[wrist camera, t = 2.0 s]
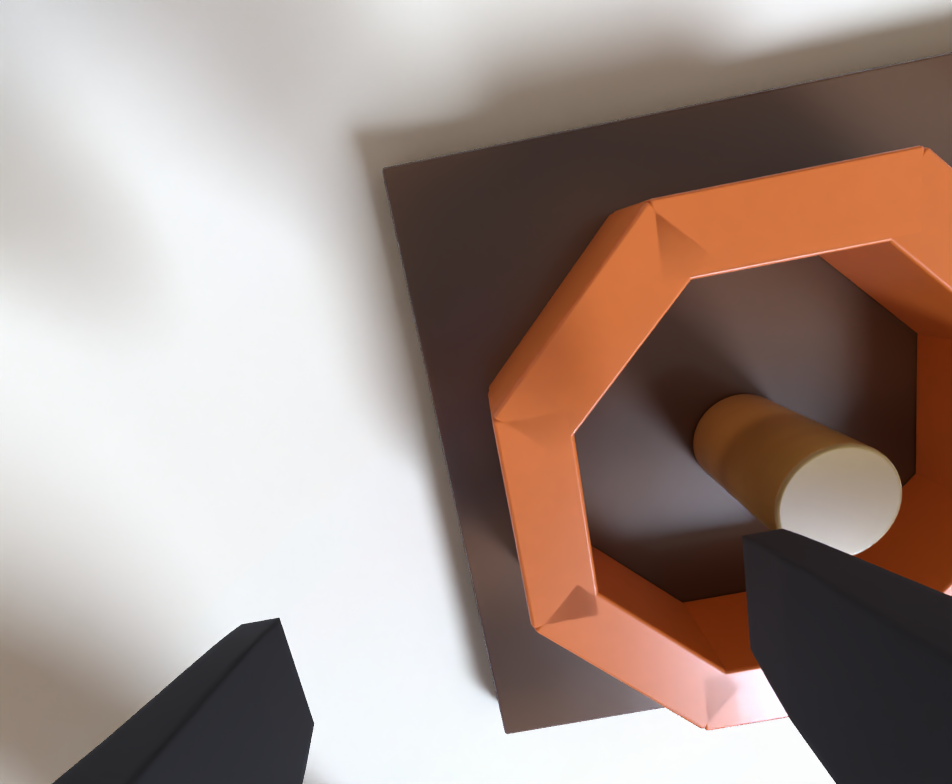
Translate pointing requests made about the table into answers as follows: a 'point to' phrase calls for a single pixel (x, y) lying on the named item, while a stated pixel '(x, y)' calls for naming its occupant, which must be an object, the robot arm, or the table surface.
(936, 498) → the ring
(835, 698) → the robot arm
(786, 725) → the table surface
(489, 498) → the peg board
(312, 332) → the table surface
